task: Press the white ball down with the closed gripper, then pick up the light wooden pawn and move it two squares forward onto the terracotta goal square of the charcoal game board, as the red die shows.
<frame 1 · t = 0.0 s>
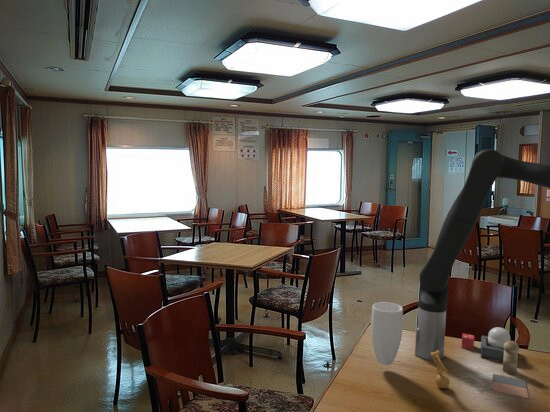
wooden pawn: (509, 371, 137), on the table
cup: (384, 370, 137), on the table
white ball: (499, 337, 149), point 7 cm above the table, slide at 0.0 cm
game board: (509, 386, 128), on the table
figurine: (438, 388, 126), on the table
red die: (467, 346, 155), on the table
dark grey square tray: (497, 354, 149), on the table
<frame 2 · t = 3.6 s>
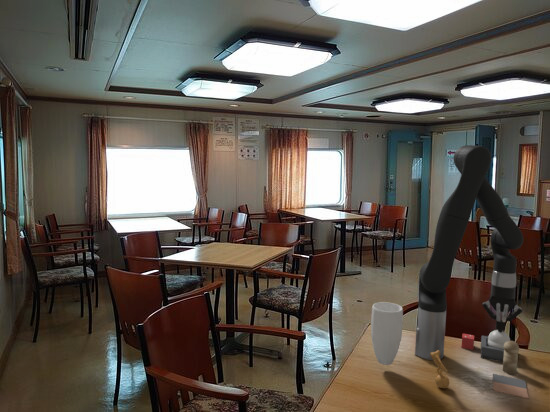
hand: (500, 330, 148), 9 cm above the table, tool pointing down, fingers closed
white ball: (499, 340, 149), point 5 cm above the table, slide at 1.1 cm, touching gripper
everything else where it was.
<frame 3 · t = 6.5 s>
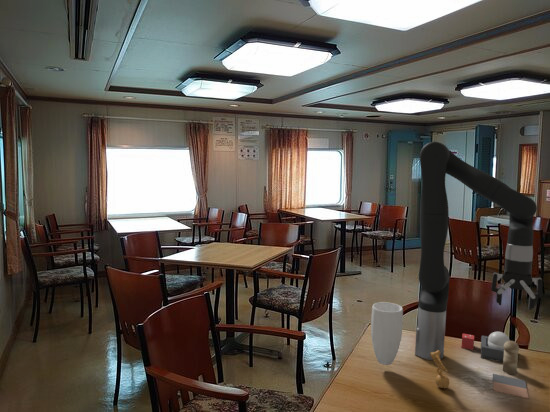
hand: (514, 306, 135), 22 cm above the table, tool pointing down, fingers open, 8 cm apart
white ball: (498, 341, 149), point 5 cm above the table, slide at 1.6 cm
everything else where it was.
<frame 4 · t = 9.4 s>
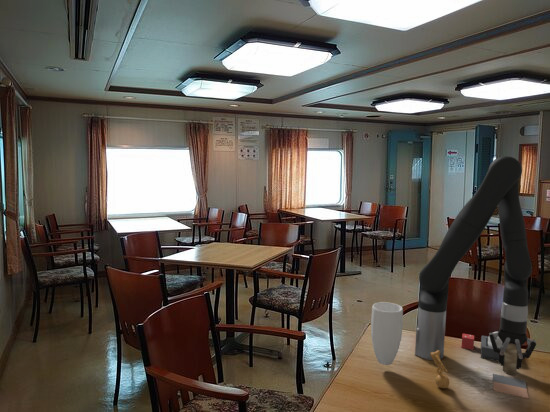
hand: (509, 366, 137), 2 cm above the table, tool pointing down, fingers closed on wooden pawn, 4 cm apart
wooden pawn: (509, 371, 137), on the table, touching gripper
everything else where it was.
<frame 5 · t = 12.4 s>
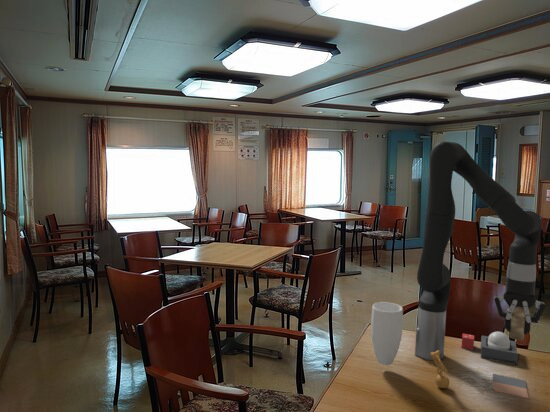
hand: (516, 331, 126), 17 cm above the table, tool pointing down, fingers closed on wooden pawn, 4 cm apart
wooden pawn: (516, 337, 127), point 16 cm above the table, touching gripper
everything else where it was.
when the fingers open (4 cm above the table, at t = 15.7 s): wooden pawn drops 1 cm, resting on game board.
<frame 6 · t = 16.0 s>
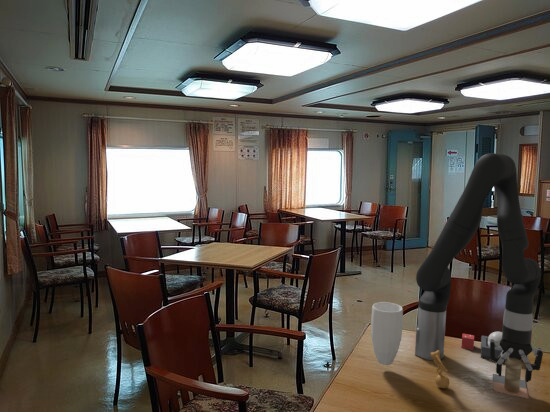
hand: (513, 377, 125), 4 cm above the table, tool pointing down, fingers open, 6 cm apart
wooden pawn: (511, 389, 126), resting on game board
everything else where it was.
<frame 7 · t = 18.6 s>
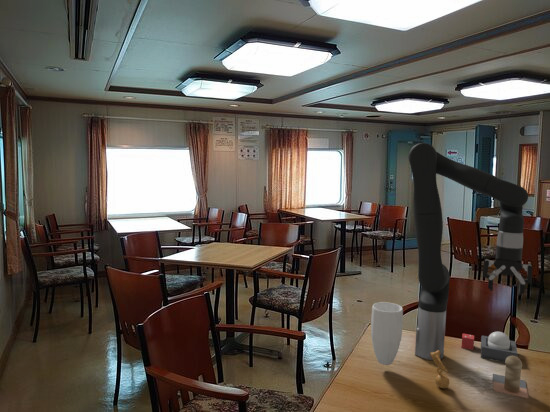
hand: (505, 292, 139), 25 cm above the table, tool pointing down, fingers open, 8 cm apart
nothing on the table moved.
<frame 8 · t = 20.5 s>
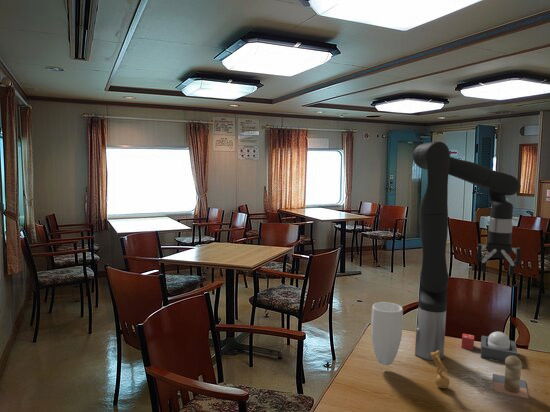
hand: (496, 273, 153), 28 cm above the table, tool pointing down, fingers open, 8 cm apart
nothing on the table moved.
at the end: white ball slide at 1.6 cm; wooden pawn 0.3 cm from the target spot, resting on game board; wooden pawn tilted 1° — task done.
